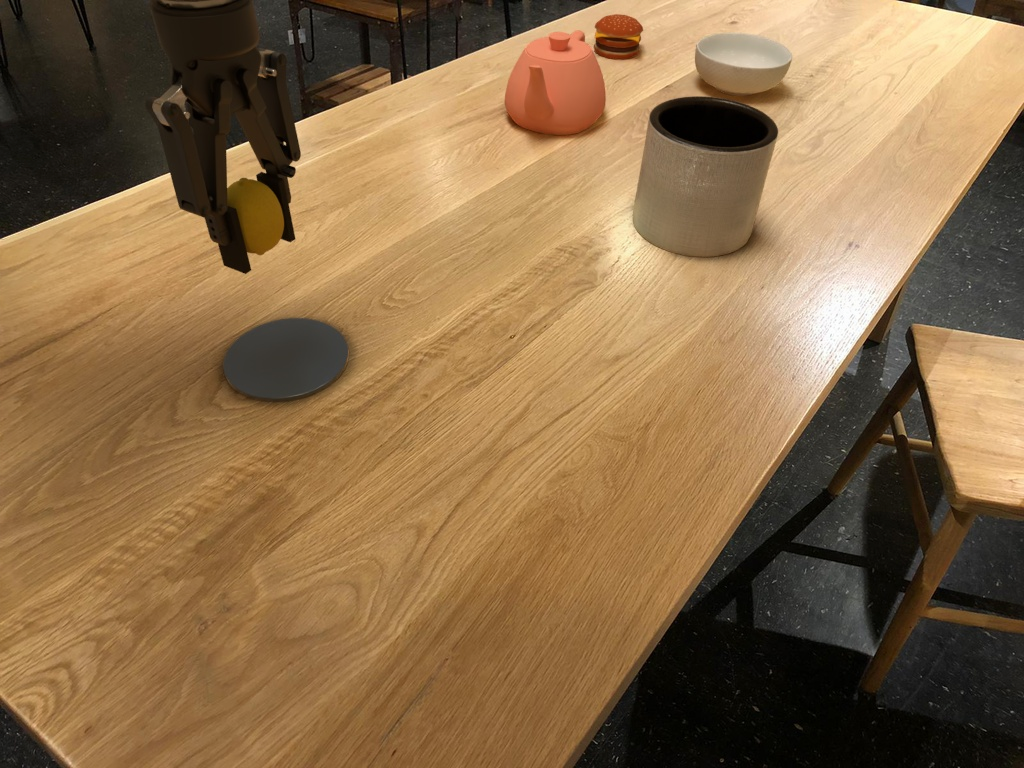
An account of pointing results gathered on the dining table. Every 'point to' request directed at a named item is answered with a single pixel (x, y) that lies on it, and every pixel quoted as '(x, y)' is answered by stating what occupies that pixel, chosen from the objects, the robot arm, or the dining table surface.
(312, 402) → the dining table surface
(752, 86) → the cereal bowl
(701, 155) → the planter
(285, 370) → the plate
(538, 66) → the teapot
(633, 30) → the hamburger
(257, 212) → the lemon
